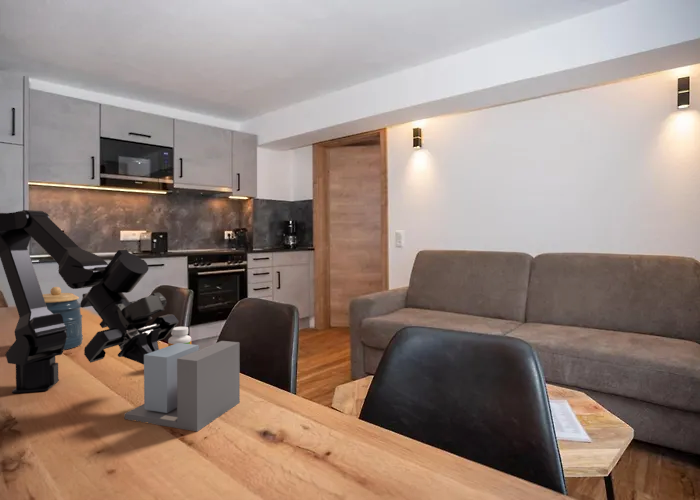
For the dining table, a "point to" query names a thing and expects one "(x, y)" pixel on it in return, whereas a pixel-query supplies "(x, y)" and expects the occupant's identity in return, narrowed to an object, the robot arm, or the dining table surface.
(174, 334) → the supplement bottle
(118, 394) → the dining table surface
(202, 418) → the plate
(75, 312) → the canister
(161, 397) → the blue-gray rectangular block
